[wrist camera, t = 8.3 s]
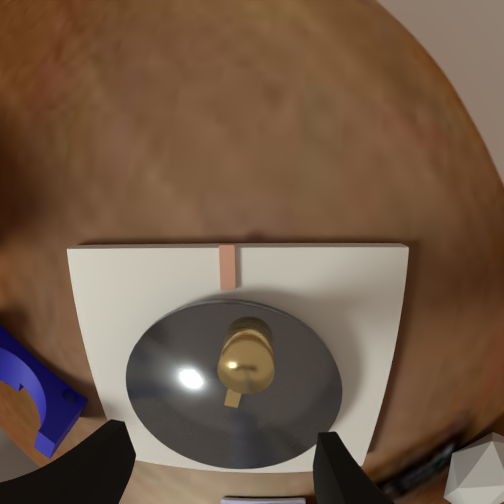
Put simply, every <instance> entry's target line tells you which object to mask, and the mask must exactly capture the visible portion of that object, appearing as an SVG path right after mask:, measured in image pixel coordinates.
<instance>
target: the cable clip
mask: <svg viewBox="0 0 504 504" xmlns="http://www.w3.org/2000/svg"><path fill="white" fill-rule="evenodd" d="M0 380H2V381H4V382H5V383H7V384H9V385H10V386H12V387H13V388H14V389H16V390H17V391H18V392H19V391H20V390H21V389H22V388H23V387H25V388H26V390H27V391H28V392H29V393H30V395H31V396H32V398H33V399H34V401H35V403H36V405H37V408H38V410H39V414H40V418H41V428H40V429H39V431H38V434H37V438H36V442H35V448H36V449H37V450H39V451H40V452H41V453H42V454H44V455H45V456H46V457H48V458H49V459H50V458H51V457H52V455H53V454H54V452H55V451H56V450H57V448H58V447H59V445H60V444H61V442H62V441H63V439H64V438H65V437H66V435H67V434H68V432H69V431H70V430H71V428H72V427H73V425H74V424H75V422H76V421H77V420H78V418H79V417H80V415H81V413H82V410H83V408H84V406H85V404H86V402H87V399H86V398H85V397H83V396H82V395H80V394H79V393H78V392H76V391H75V390H74V389H72V388H71V387H70V386H69V385H67V384H66V383H65V382H63V381H62V380H61V379H60V378H58V377H57V376H56V375H55V374H54V373H52V372H51V371H50V370H49V369H48V368H46V367H45V366H44V365H43V364H42V363H41V362H39V361H38V360H37V359H36V358H35V357H34V356H33V355H32V354H30V353H29V352H28V351H27V350H26V349H25V348H24V347H23V346H22V345H21V344H20V343H19V342H18V341H17V340H15V339H14V338H13V337H12V336H11V335H10V334H9V333H8V332H7V331H6V330H5V329H4V328H3V327H2V326H1V324H0Z"/></svg>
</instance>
